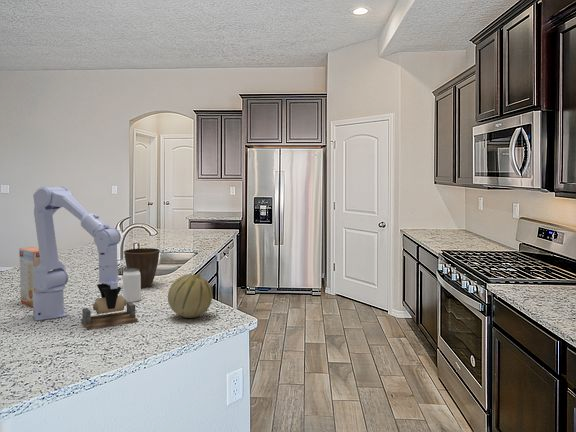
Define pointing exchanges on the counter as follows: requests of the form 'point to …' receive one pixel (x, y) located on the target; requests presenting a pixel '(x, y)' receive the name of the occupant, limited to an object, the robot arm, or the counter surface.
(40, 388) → the counter surface
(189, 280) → the cantaloupe
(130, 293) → the can
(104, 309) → the bottle
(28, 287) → the cracker box
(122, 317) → the cradle
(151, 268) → the plant pot
